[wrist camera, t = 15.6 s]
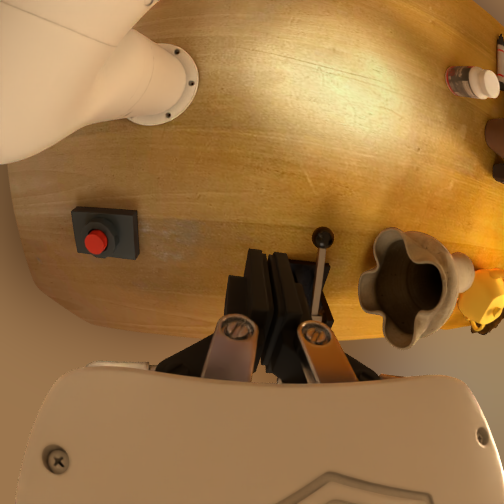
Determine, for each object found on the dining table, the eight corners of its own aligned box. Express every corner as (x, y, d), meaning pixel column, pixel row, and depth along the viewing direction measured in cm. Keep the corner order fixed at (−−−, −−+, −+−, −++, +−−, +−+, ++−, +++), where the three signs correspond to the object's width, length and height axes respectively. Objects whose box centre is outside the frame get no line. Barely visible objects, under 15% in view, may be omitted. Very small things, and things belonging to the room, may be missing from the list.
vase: (518, 249, 32) (468, 256, 23) (482, 343, 39) (408, 392, 31) (444, 217, 51) (361, 210, 43) (422, 299, 59) (338, 319, 50)
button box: (82, 246, 43) (72, 257, 40) (77, 206, 39) (65, 215, 36) (139, 253, 44) (132, 265, 41) (137, 210, 40) (128, 220, 37)
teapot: (443, 311, 56) (466, 345, 45) (474, 243, 46) (508, 273, 35) (472, 307, 56) (494, 337, 45) (501, 246, 47) (530, 273, 36)
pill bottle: (453, 61, 27) (491, 61, 19) (468, 87, 29) (505, 91, 21) (439, 75, 29) (477, 75, 21) (454, 101, 31) (492, 107, 23)
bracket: (284, 258, 46) (296, 304, 36) (328, 263, 47) (349, 307, 36) (274, 303, 51) (281, 351, 40) (313, 306, 52) (328, 352, 41)
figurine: (517, 261, 48) (517, 285, 57) (462, 315, 60) (470, 330, 69) (540, 292, 38) (534, 312, 47) (480, 349, 50) (484, 358, 59)
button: (90, 248, 39) (86, 253, 38) (88, 228, 38) (83, 233, 36) (108, 250, 40) (104, 255, 38) (106, 230, 38) (102, 235, 36)
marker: (499, 90, 28) (505, 91, 26) (494, 86, 28) (501, 87, 26) (500, 36, 20) (506, 35, 19) (495, 31, 20) (501, 31, 18)
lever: (310, 225, 41) (317, 224, 38) (330, 228, 41) (338, 227, 38) (297, 327, 42) (303, 334, 38) (317, 328, 42) (324, 335, 39)
